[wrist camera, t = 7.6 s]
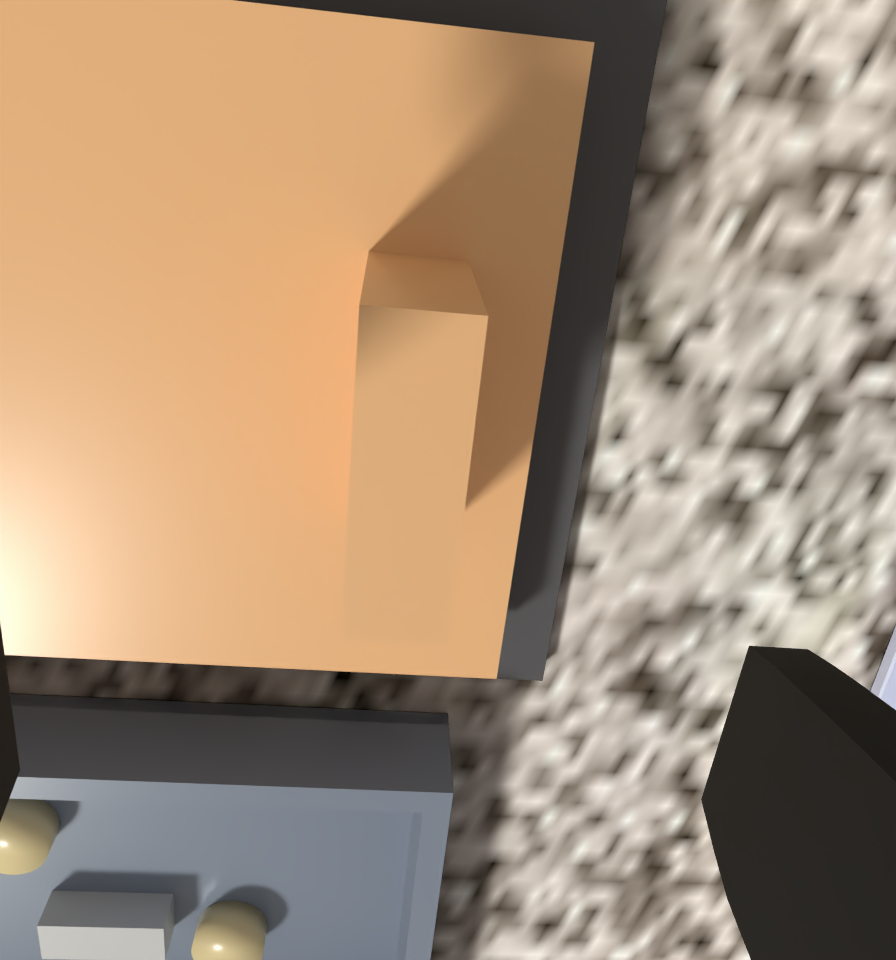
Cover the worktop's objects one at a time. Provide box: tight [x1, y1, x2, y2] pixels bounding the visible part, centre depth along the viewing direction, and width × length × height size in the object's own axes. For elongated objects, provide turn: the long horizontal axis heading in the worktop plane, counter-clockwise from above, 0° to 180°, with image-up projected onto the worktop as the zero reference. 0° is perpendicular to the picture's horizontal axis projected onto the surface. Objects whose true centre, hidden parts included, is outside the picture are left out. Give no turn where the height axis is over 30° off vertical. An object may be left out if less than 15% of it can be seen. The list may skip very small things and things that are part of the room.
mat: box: [235, 0, 667, 681], centre depth 16 cm, size 20×14×1 cm
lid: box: [0, 0, 595, 679], centre depth 13 cm, size 17×12×5 cm
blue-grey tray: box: [0, 694, 453, 960], centre depth 21 cm, size 16×11×2 cm
